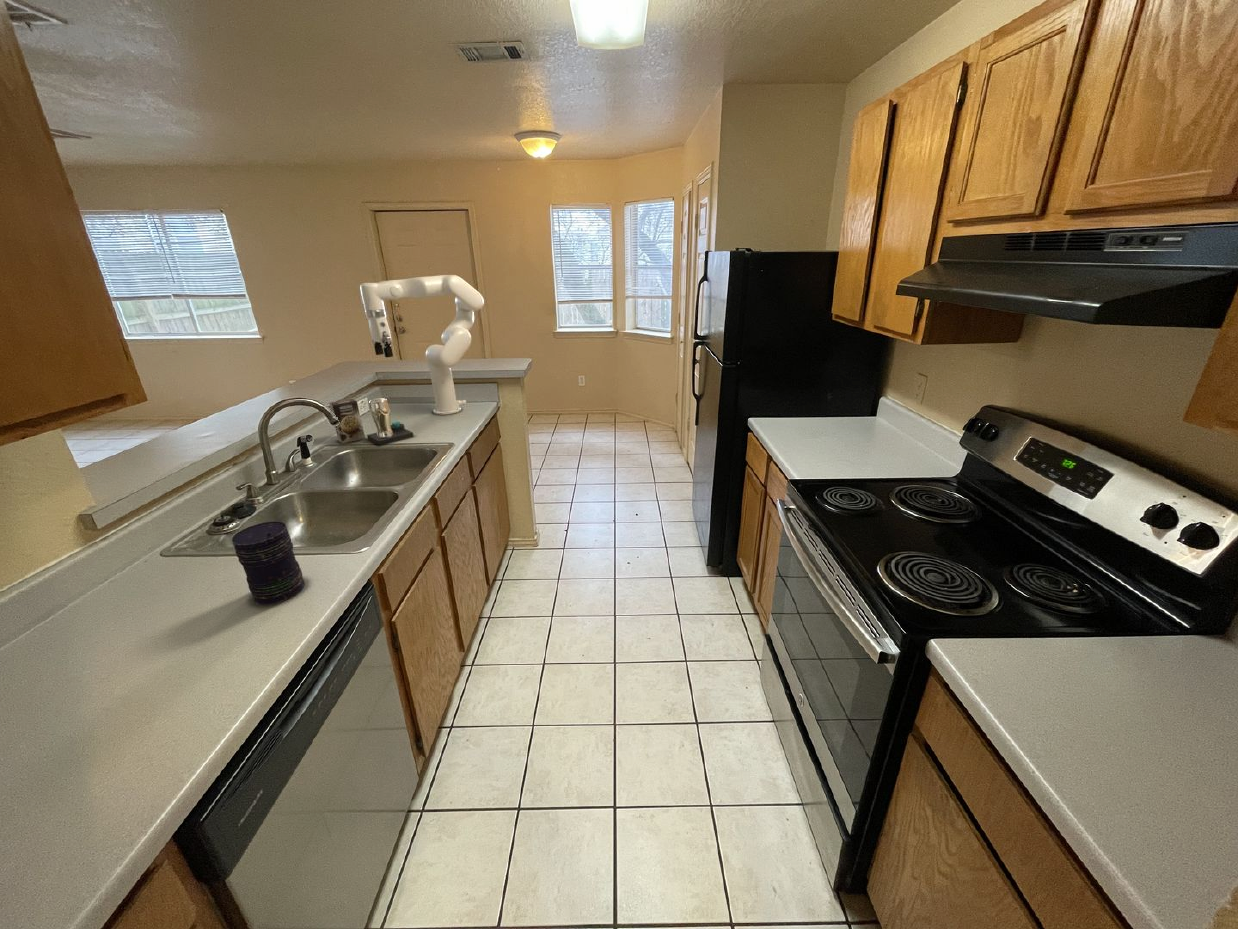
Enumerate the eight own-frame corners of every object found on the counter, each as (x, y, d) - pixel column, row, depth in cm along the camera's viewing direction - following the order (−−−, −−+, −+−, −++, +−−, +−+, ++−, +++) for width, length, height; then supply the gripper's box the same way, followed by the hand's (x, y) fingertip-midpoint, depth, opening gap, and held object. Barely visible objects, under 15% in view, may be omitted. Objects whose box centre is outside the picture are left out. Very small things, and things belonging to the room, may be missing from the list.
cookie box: (342, 444, 204) (332, 405, 198) (338, 440, 208) (328, 402, 202) (366, 438, 209) (357, 400, 203) (361, 435, 214) (352, 397, 208)
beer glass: (372, 438, 203) (364, 402, 198) (384, 432, 209) (377, 397, 204) (387, 439, 201) (379, 402, 196) (398, 433, 208) (391, 398, 202)
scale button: (398, 424, 215) (397, 421, 214) (401, 426, 213) (400, 422, 212) (391, 426, 213) (390, 423, 213) (394, 428, 211) (393, 424, 211)
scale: (401, 430, 218) (400, 422, 217) (414, 436, 210) (413, 428, 209) (367, 439, 209) (365, 430, 207) (379, 445, 201) (377, 437, 199)
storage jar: (242, 599, 110) (219, 540, 104) (285, 574, 118) (265, 518, 112) (274, 609, 106) (252, 548, 100) (315, 583, 115) (297, 525, 109)
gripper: (393, 314, 207) (401, 356, 213) (376, 312, 218) (385, 352, 225) (374, 316, 202) (383, 359, 208) (358, 314, 213) (367, 355, 220)
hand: (384, 355), depth 217 cm, fingers open, 9 cm apart
